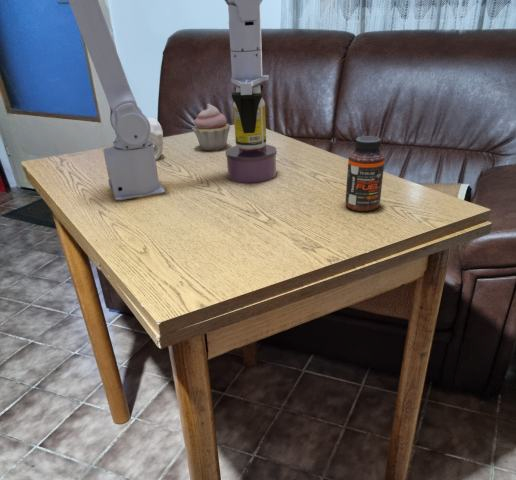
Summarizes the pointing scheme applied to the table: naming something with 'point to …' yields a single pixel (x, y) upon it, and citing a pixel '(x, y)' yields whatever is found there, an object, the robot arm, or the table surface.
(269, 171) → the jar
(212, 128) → the cupcake
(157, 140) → the penguin figurine
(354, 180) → the supplement bottle
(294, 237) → the table surface
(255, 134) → the pill bottle
